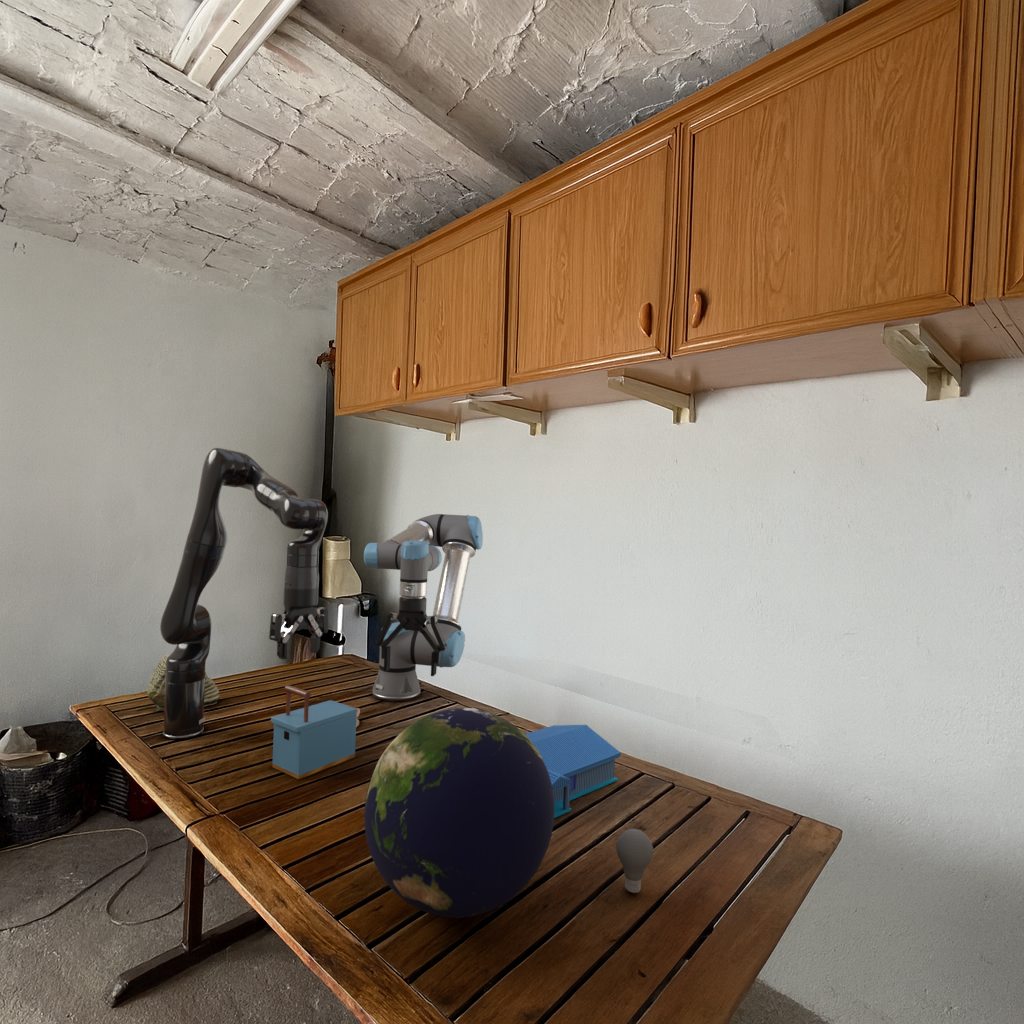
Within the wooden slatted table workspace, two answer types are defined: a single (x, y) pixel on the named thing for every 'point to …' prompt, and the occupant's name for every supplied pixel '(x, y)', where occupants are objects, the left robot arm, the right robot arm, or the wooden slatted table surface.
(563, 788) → the model building
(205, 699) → the fossil
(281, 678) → the wooden slatted table surface
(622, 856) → the light bulb
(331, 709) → the lid
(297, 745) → the chest
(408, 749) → the globe
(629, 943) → the wooden slatted table surface
